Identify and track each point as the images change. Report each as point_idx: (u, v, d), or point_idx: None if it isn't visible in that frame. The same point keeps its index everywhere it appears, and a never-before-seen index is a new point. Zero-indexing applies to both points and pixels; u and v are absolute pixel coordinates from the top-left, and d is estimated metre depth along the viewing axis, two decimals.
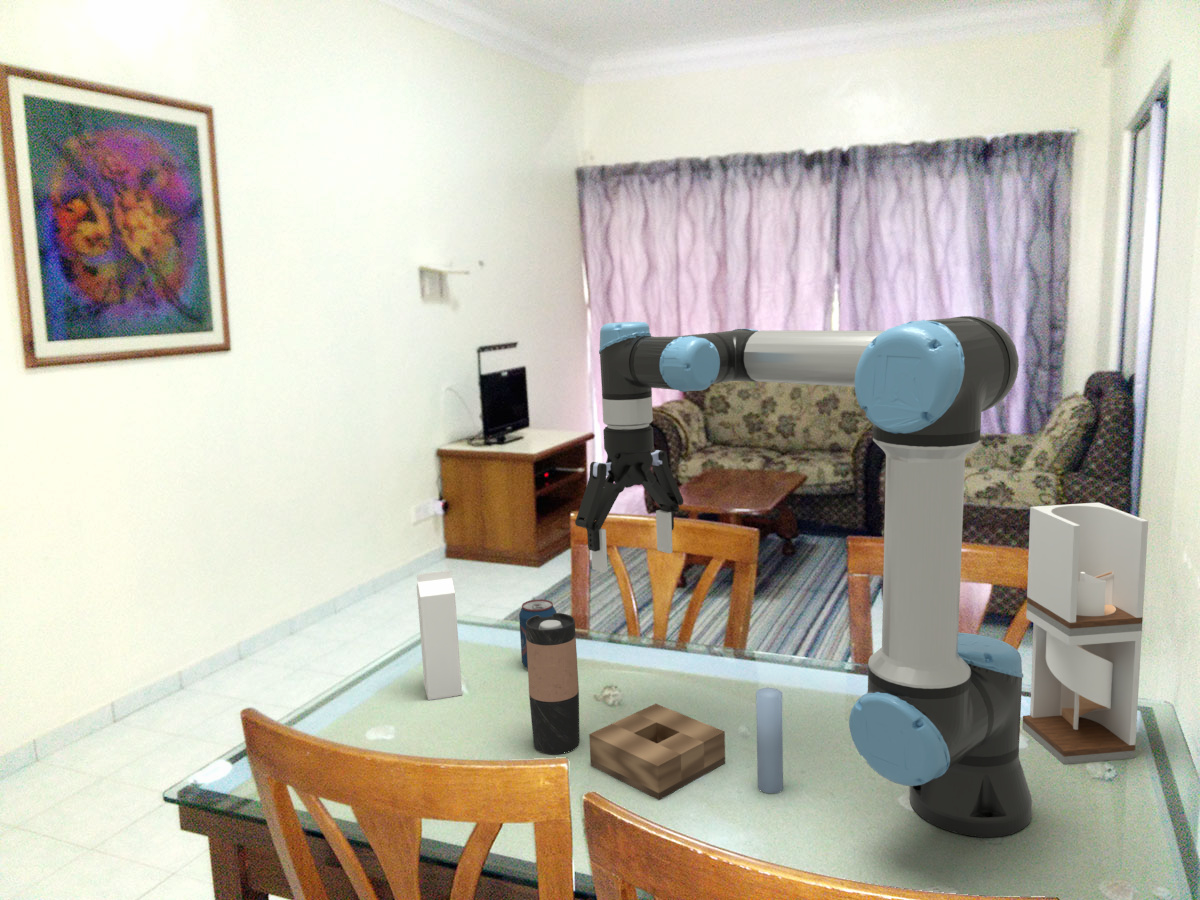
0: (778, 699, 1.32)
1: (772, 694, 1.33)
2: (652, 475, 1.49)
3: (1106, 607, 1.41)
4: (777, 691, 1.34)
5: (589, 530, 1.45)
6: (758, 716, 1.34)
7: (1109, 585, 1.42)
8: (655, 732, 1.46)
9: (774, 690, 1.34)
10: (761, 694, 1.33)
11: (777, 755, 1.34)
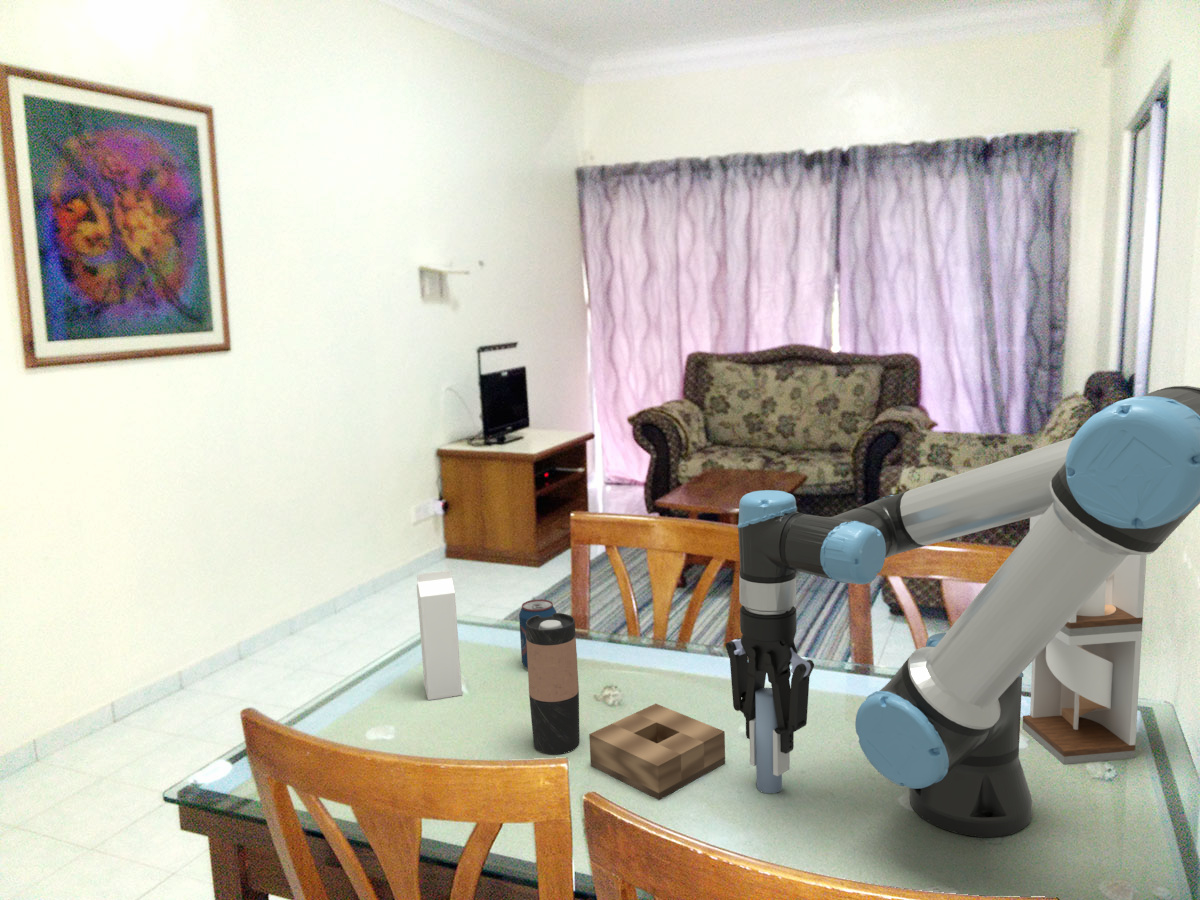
0: None
1: (771, 694, 1.33)
2: (772, 674, 1.30)
3: (1106, 607, 1.41)
4: None
5: None
6: (757, 716, 1.34)
7: (1109, 585, 1.42)
8: (655, 732, 1.46)
9: None
10: (760, 694, 1.33)
11: None
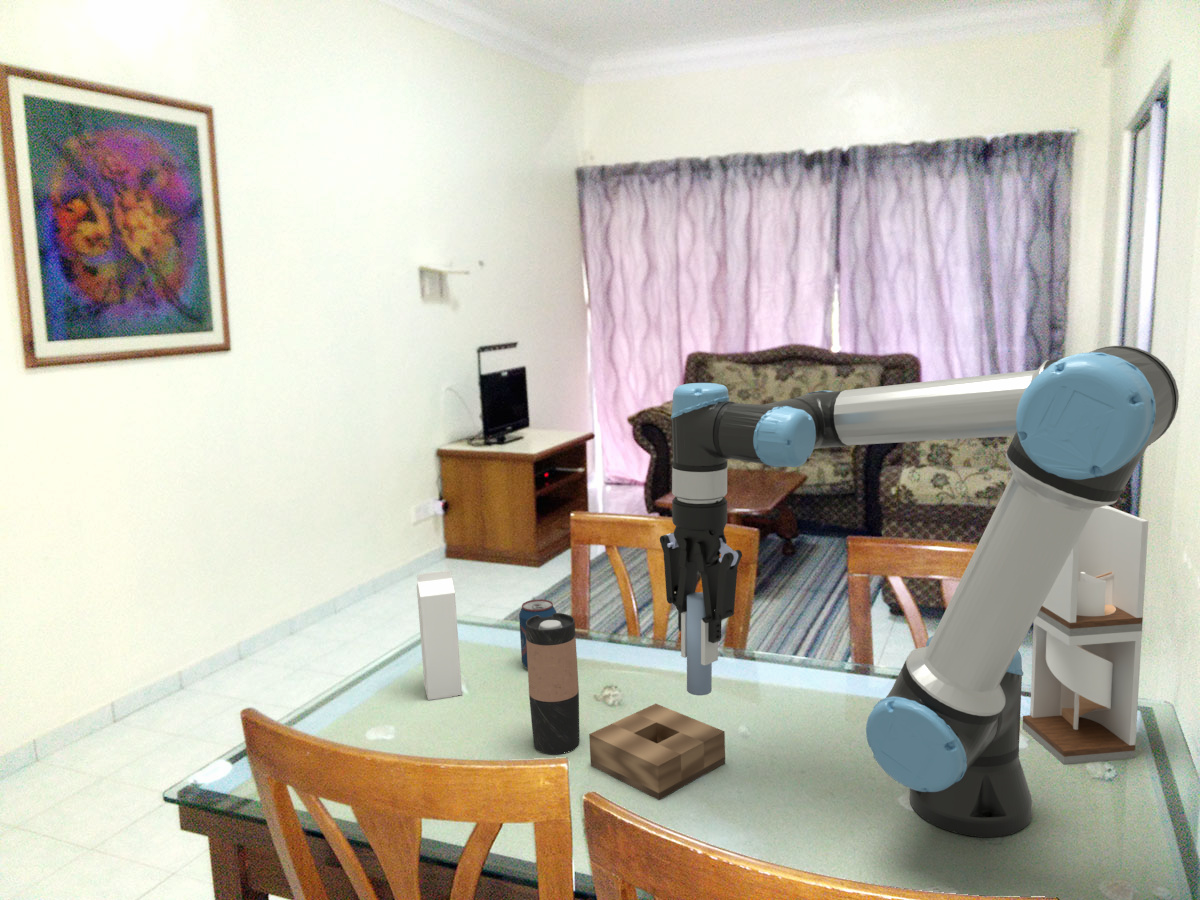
0: None
1: (702, 598, 1.35)
2: (702, 564, 1.33)
3: (1106, 607, 1.41)
4: None
5: None
6: (688, 618, 1.36)
7: (1109, 585, 1.42)
8: (655, 732, 1.46)
9: None
10: (691, 597, 1.36)
11: None
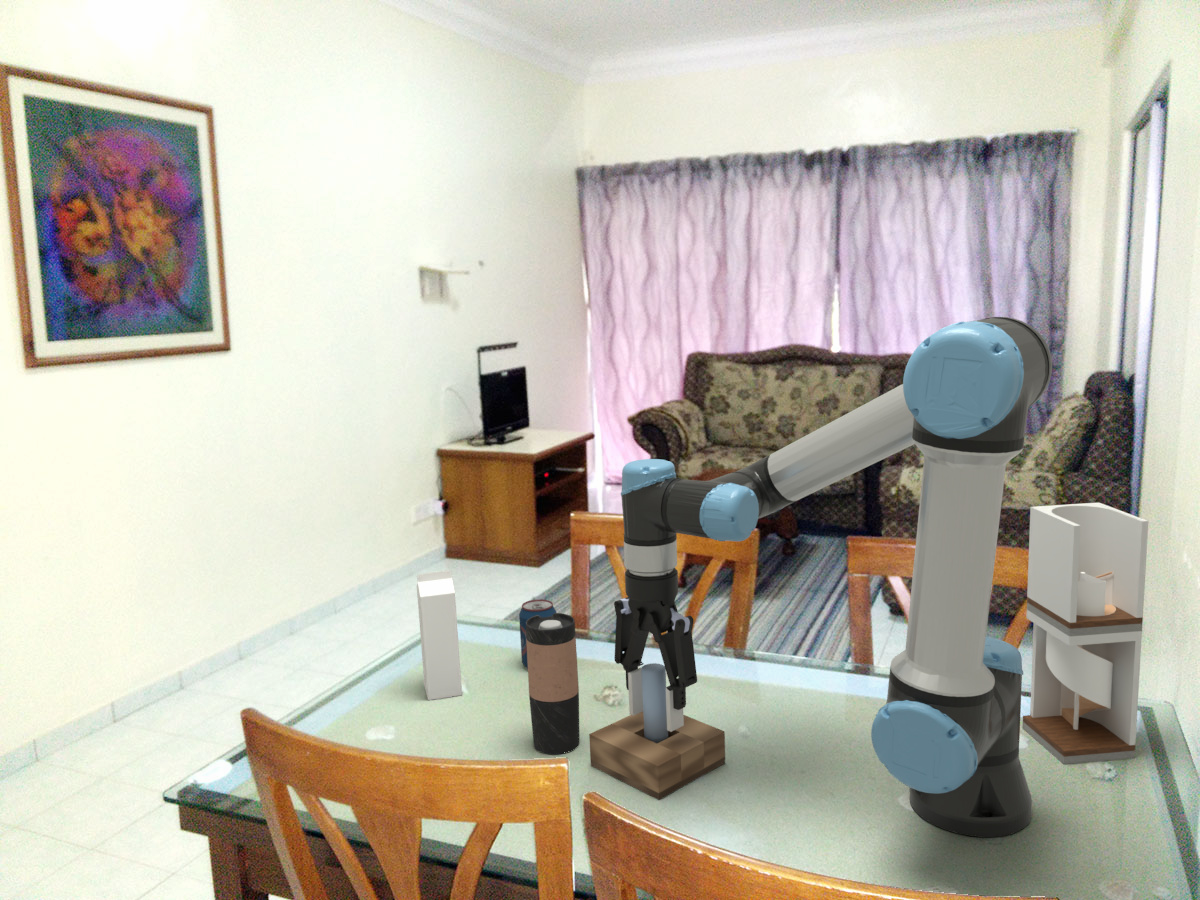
0: (660, 674, 1.40)
1: (655, 669, 1.41)
2: (657, 633, 1.37)
3: (1106, 607, 1.41)
4: (661, 666, 1.41)
5: None
6: (643, 690, 1.41)
7: (1109, 585, 1.42)
8: None
9: (659, 665, 1.42)
10: (645, 669, 1.41)
11: (661, 727, 1.41)
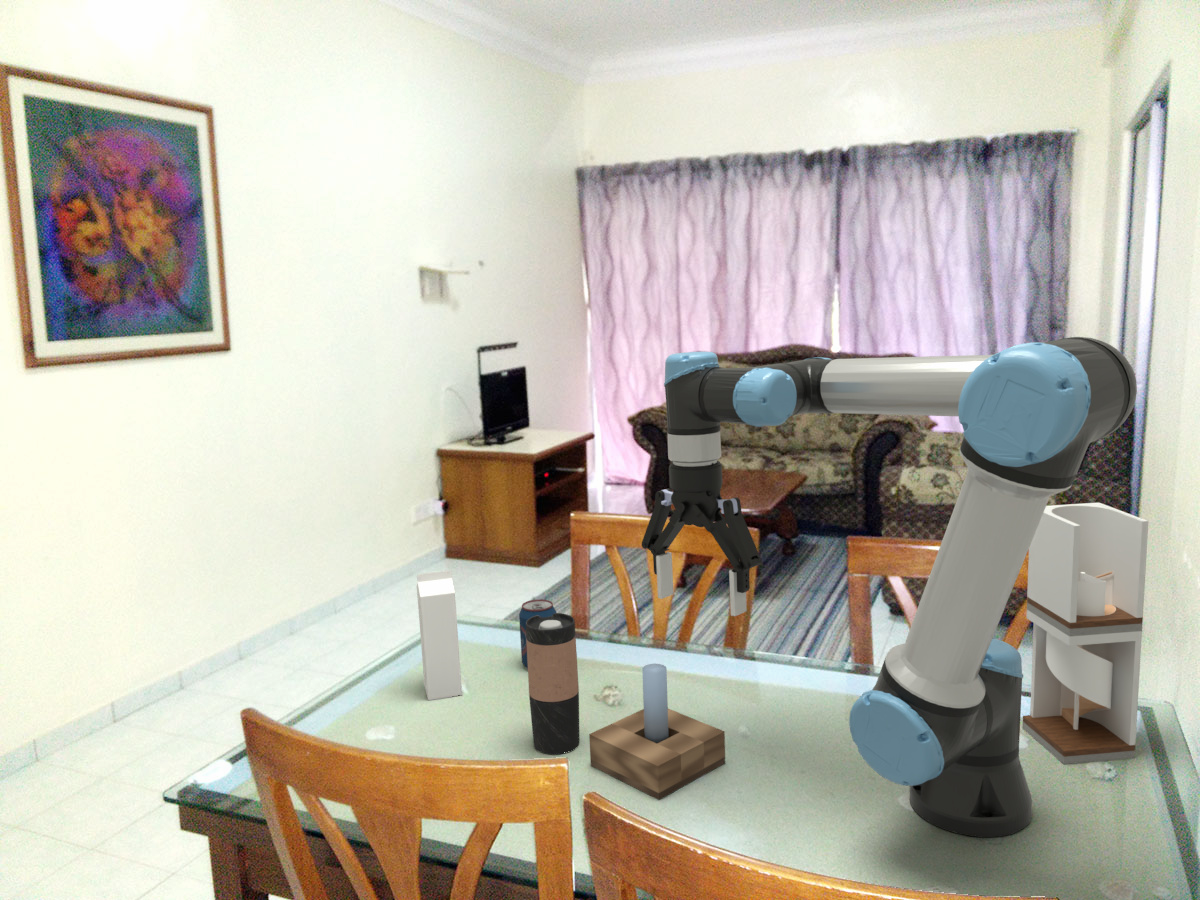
0: (661, 674, 1.40)
1: (656, 670, 1.41)
2: (706, 521, 1.37)
3: (1106, 607, 1.41)
4: (662, 667, 1.41)
5: None
6: (644, 690, 1.41)
7: (1109, 585, 1.42)
8: None
9: (660, 666, 1.42)
10: (646, 669, 1.41)
11: (661, 727, 1.41)
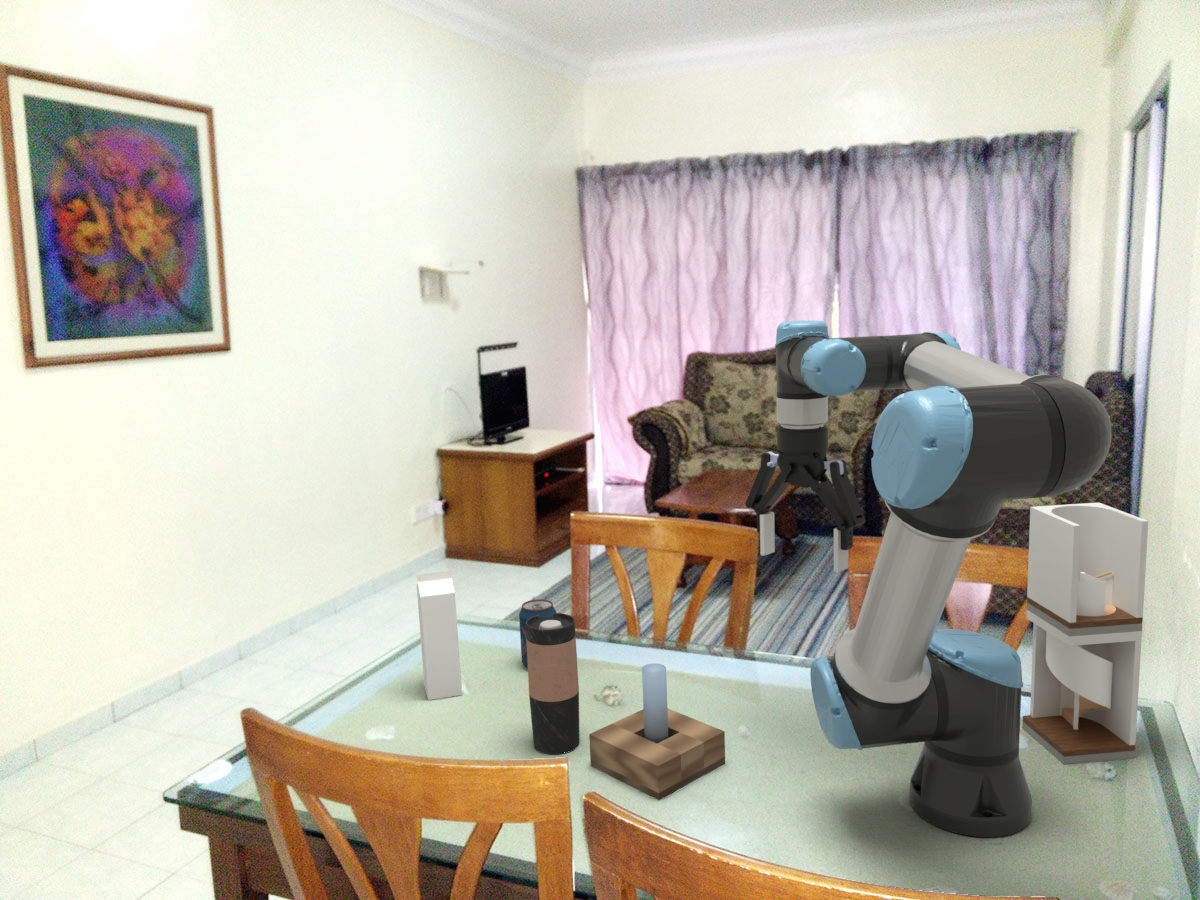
0: (661, 674, 1.40)
1: (656, 669, 1.41)
2: (813, 481, 1.44)
3: (1106, 607, 1.41)
4: (661, 667, 1.41)
5: None
6: (643, 690, 1.41)
7: (1109, 585, 1.42)
8: None
9: (659, 666, 1.42)
10: (646, 669, 1.41)
11: (661, 727, 1.41)
